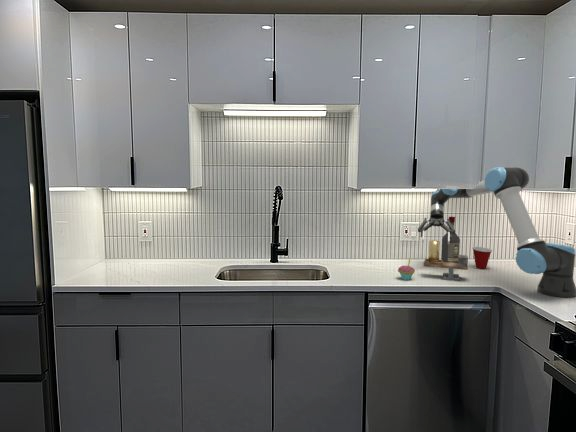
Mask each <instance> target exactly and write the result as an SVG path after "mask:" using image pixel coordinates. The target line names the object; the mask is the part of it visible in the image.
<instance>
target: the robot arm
mask: <svg viewBox="0 0 576 432" xmlns="http://www.w3.org/2000/svg"><path fill="white" fill-rule="evenodd" d="M480 181H481V182H480ZM480 181H478V182H479V183H478V184H477V185H476V188H474V189H441V188H440V189H439V190H436V191H433V192H432V193H431V197H430V213H429V214H430V215H429V216H430V217H429V218H427V217H424V220H423V221H422V223H420V225H419V227H418V228H417V232H418V233H420V237H421V238H422V243H424V242H425V232H426V231H427V230H429V228H432V227H441V228H442V229H443V230H445V231H446V233H447V232H448V244H449V242H450V239H451V238H452V234H455V233H456V229H455V227H454V228H453V226H452V225H451V223H450V221H449V218H447V219H445V218H444V215H445V214H444V212H445V203H447V202H448V201H449V200H450V199H469V198H470V199H471V198H473V197H476V196H481V195H485V194H486V195H487V194H492V193H493V195H494V197H495V198H496V199H499V200H500V202H501V204H502V207H503V209H504V212H505V214H506V216H507V219H508V221H509V224H510V226H511V229H512V231H513V233H514V236H515V238H516V241H517V242H518V245H517V247H516V250H517V252H516V253H515V256H516V257H515V262H516V265H517V266H518V268H519V269H520V270H521V271H522V272H524V273H526V274H529V275H530V274H531V275H540V274H542V276H541V278H540V280H539V282H538V284H537V292H539V293H540V294H543V295H547V296H550V297H551V296H552V297H560V298H576V283H575V281H574V274H575V273H574V272H575V260H576V248H574V247H573V246H571V245H564V244H557V243H552V242H546V241H545V240H544V239H543V238H542V239H541V238H540V237H539V234H538V232H537V230H536V227H535V225H534V224H533V221H532V219H531V216H530V214H529V211H528V210H527V208H526V205H525V203H524V201H523V198H522V196H521V194H520V191H521V190H524V188H525V189H526V187H527V186H528V184H529V182H530V175H529V173H528V171H526V170H525V169H524V168H521V167H503V166H498V167H493V168H491V169H489V170H488V171H487V172H486V174H485V177H484V180H480ZM446 224H447V225H446ZM449 228H450V229H449Z"/></svg>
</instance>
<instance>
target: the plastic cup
mask: <svg viewBox="0 0 576 432" xmlns="http://www.w3.org/2000/svg"><path fill="white" fill-rule="evenodd" d="M472 250H473V260H474V264H475V269H480V270H485V269H487V268H488V264H489V259H490V257H491V253H492V252H493V250H492V249H490V248H488V247H483V246H473V247H472Z"/></svg>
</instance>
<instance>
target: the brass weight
mask: <svg viewBox="0 0 576 432" xmlns="http://www.w3.org/2000/svg"><path fill="white" fill-rule="evenodd" d="M440 242H441V241H439V240H429V241H428V257H427V259H428V262H439V260H440V248H441V243H440Z"/></svg>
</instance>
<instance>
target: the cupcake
mask: <svg viewBox="0 0 576 432" xmlns="http://www.w3.org/2000/svg"><path fill="white" fill-rule="evenodd" d="M410 263H411V258H408V263H407V265H401V266H400V267H398V270H397V272H398V273H399V274H400V277H401V279H402V280H404V281H410V280H412V277H413V275H414V274H415V272H416V271H415V268H413V267H412V266H410Z"/></svg>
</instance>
